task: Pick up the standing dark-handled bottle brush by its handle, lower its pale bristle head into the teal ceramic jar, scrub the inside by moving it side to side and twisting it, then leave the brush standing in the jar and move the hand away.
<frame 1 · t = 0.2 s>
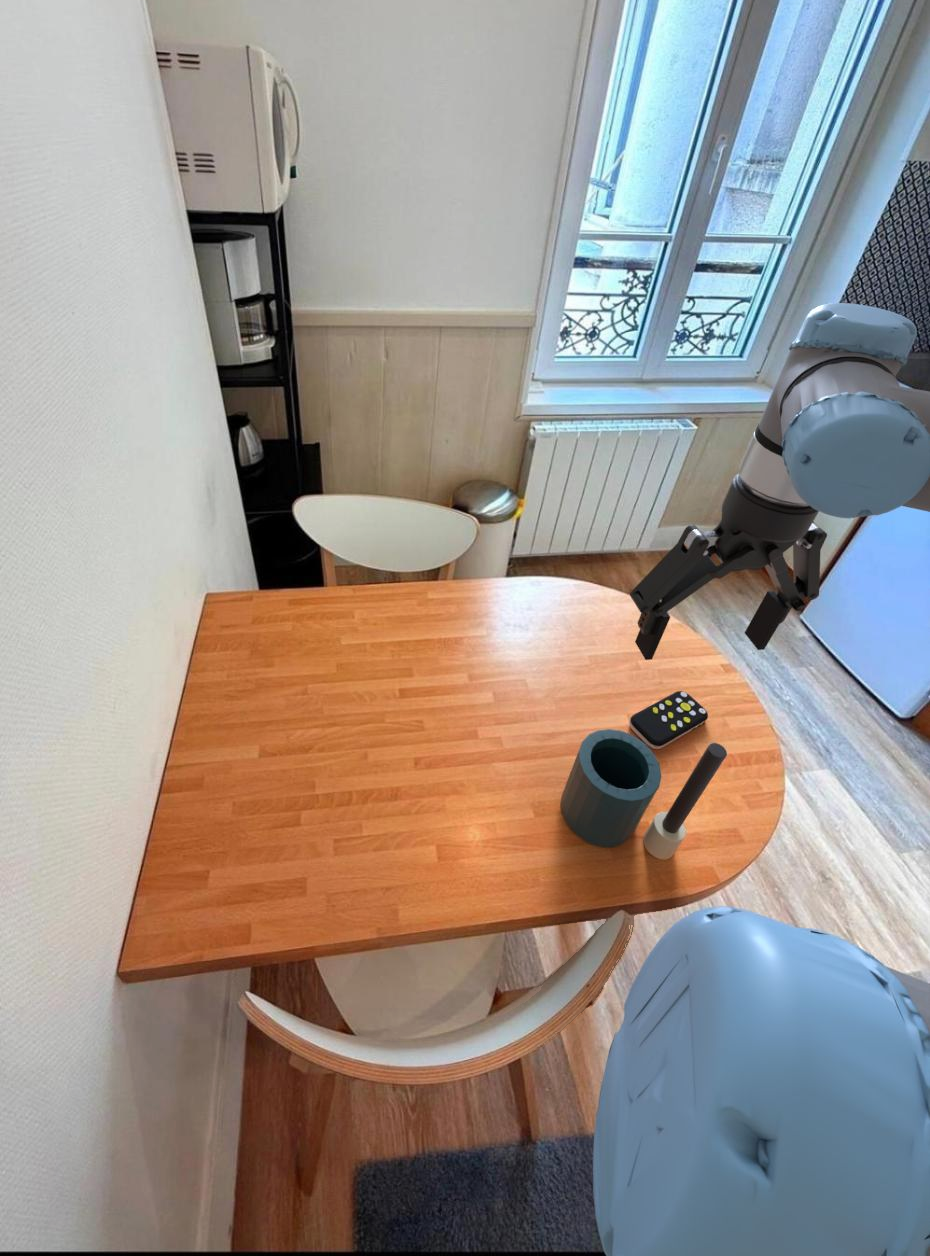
hand: (699, 646, 69), 30 cm above the table, tool pointing down, fingers open, 13 cm apart
remote control: (666, 723, 98), on the table
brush: (658, 844, 82), on the table
jar: (597, 811, 85), on the table
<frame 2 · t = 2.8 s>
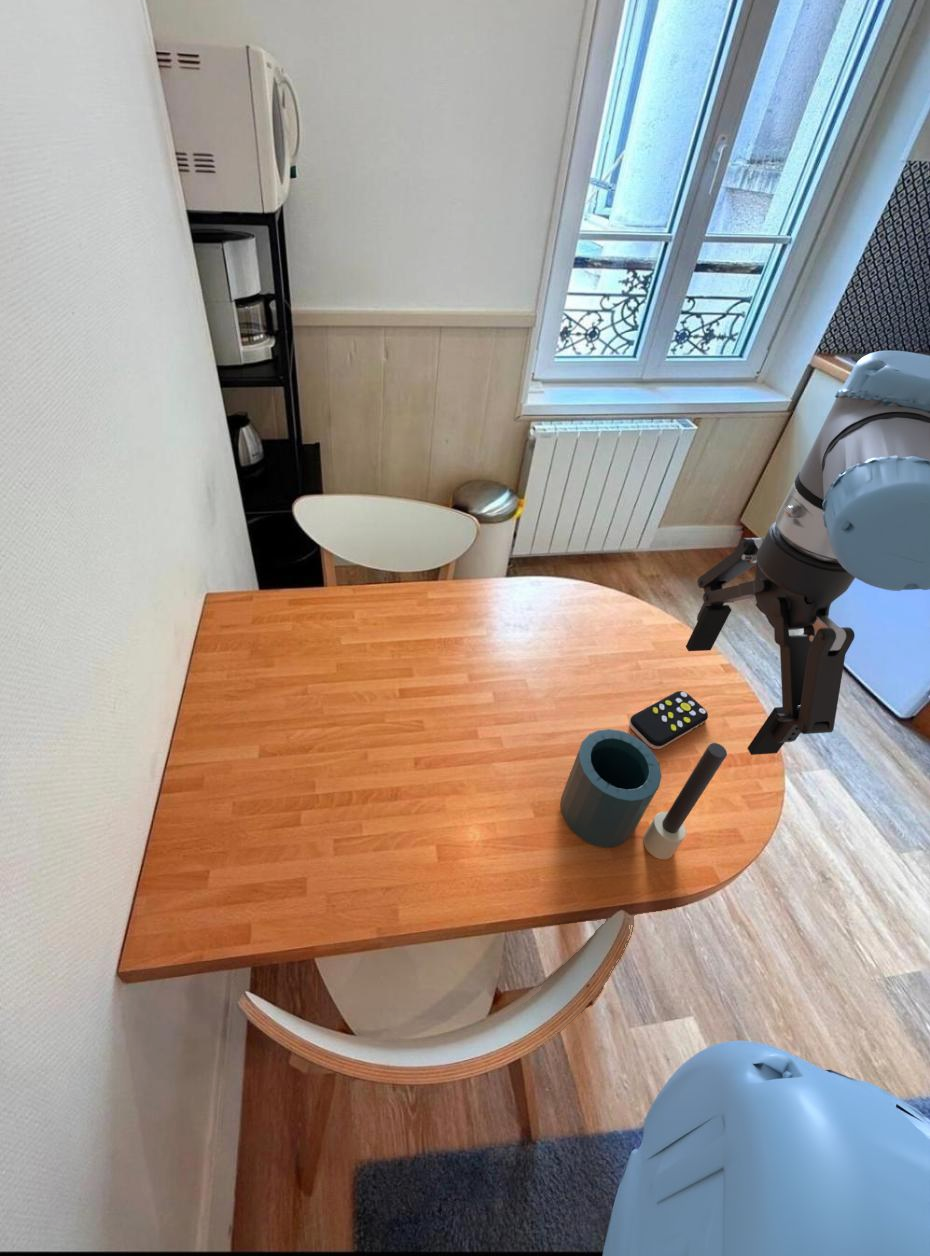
hand: (727, 695, 66), 29 cm above the table, tool pointing down, fingers open, 13 cm apart
nothing on the table moved.
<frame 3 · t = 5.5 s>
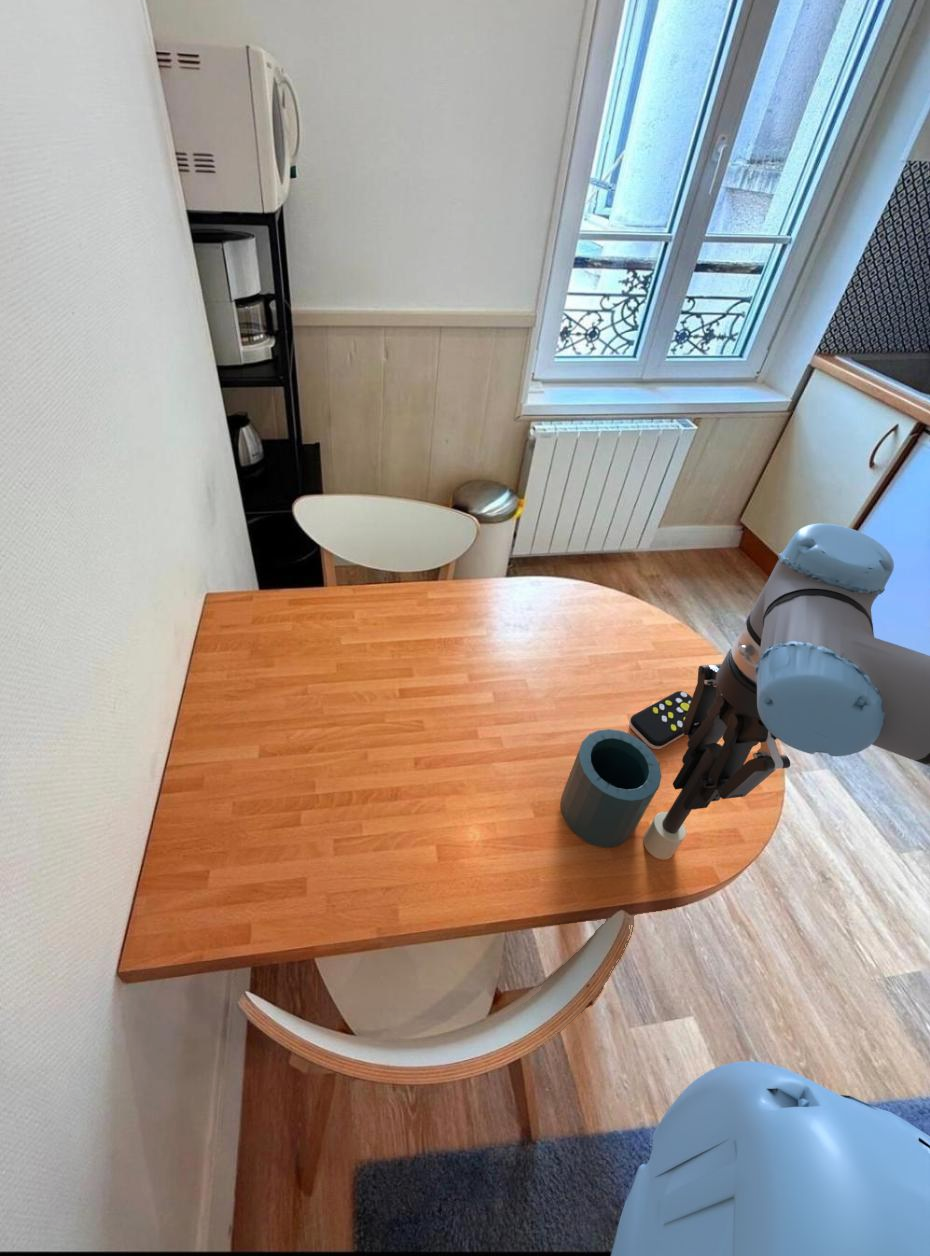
hand: (689, 795, 74), 12 cm above the table, tool pointing down, fingers closed on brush, 2 cm apart
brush: (658, 844, 82), on the table, touching gripper
everything else where it was.
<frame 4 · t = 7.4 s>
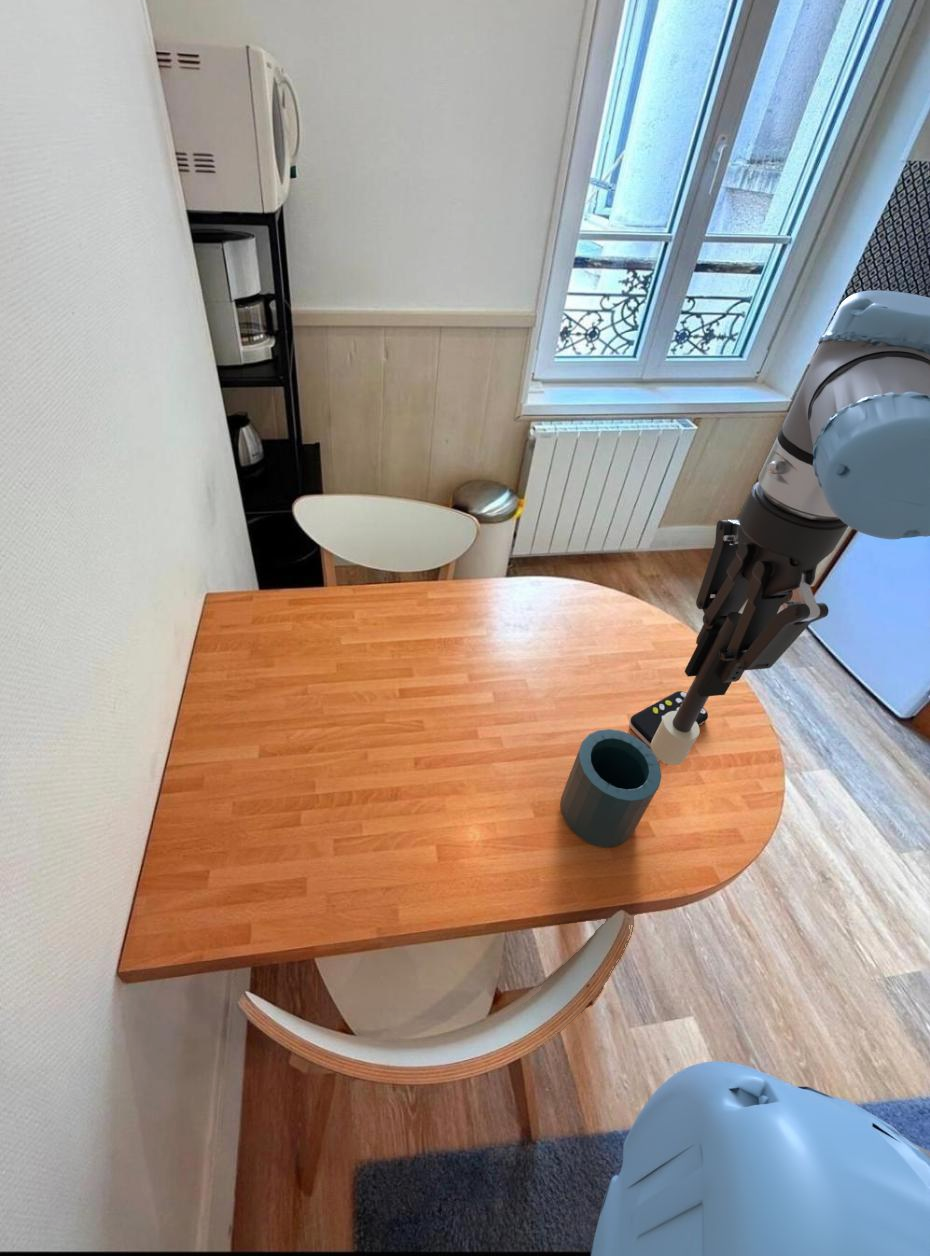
hand: (704, 682, 64), 31 cm above the table, tool pointing down, fingers closed on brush, 2 cm apart
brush: (667, 750, 72), point 18 cm above the table, touching gripper
everything else where it was.
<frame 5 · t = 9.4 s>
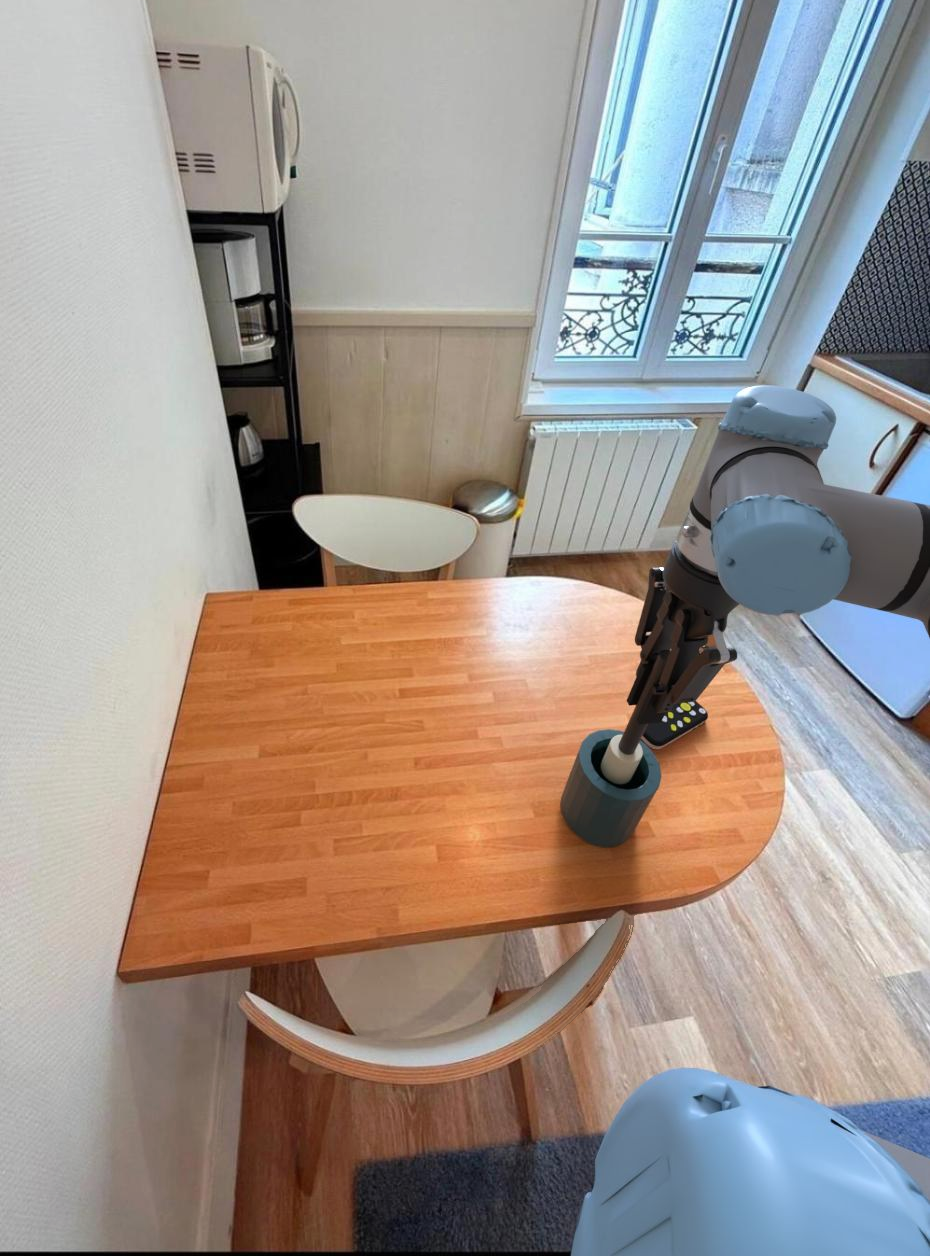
hand: (643, 711, 71), 23 cm above the table, tool pointing down, fingers closed on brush, 2 cm apart
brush: (616, 770, 79), point 10 cm above the table, touching gripper
everything else where it was.
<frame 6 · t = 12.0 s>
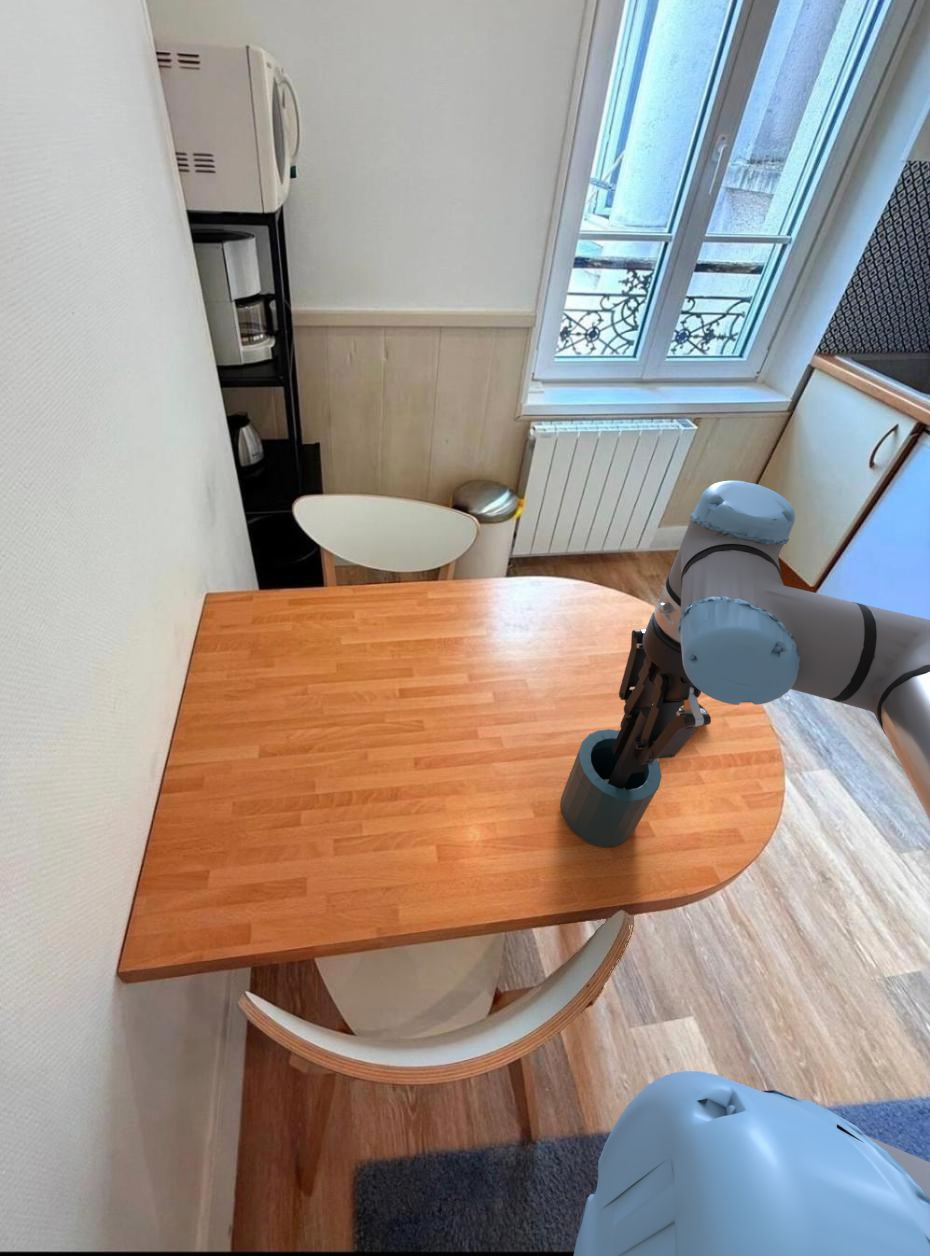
hand: (627, 760, 75), 14 cm above the table, tool pointing down, fingers closed on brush, 2 cm apart
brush: (603, 812, 83), point 2 cm above the table, touching gripper
everything else where it was.
when the fingers open (13 cm above the table, at t = 13.6 s): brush stays where it is, resting on jar.
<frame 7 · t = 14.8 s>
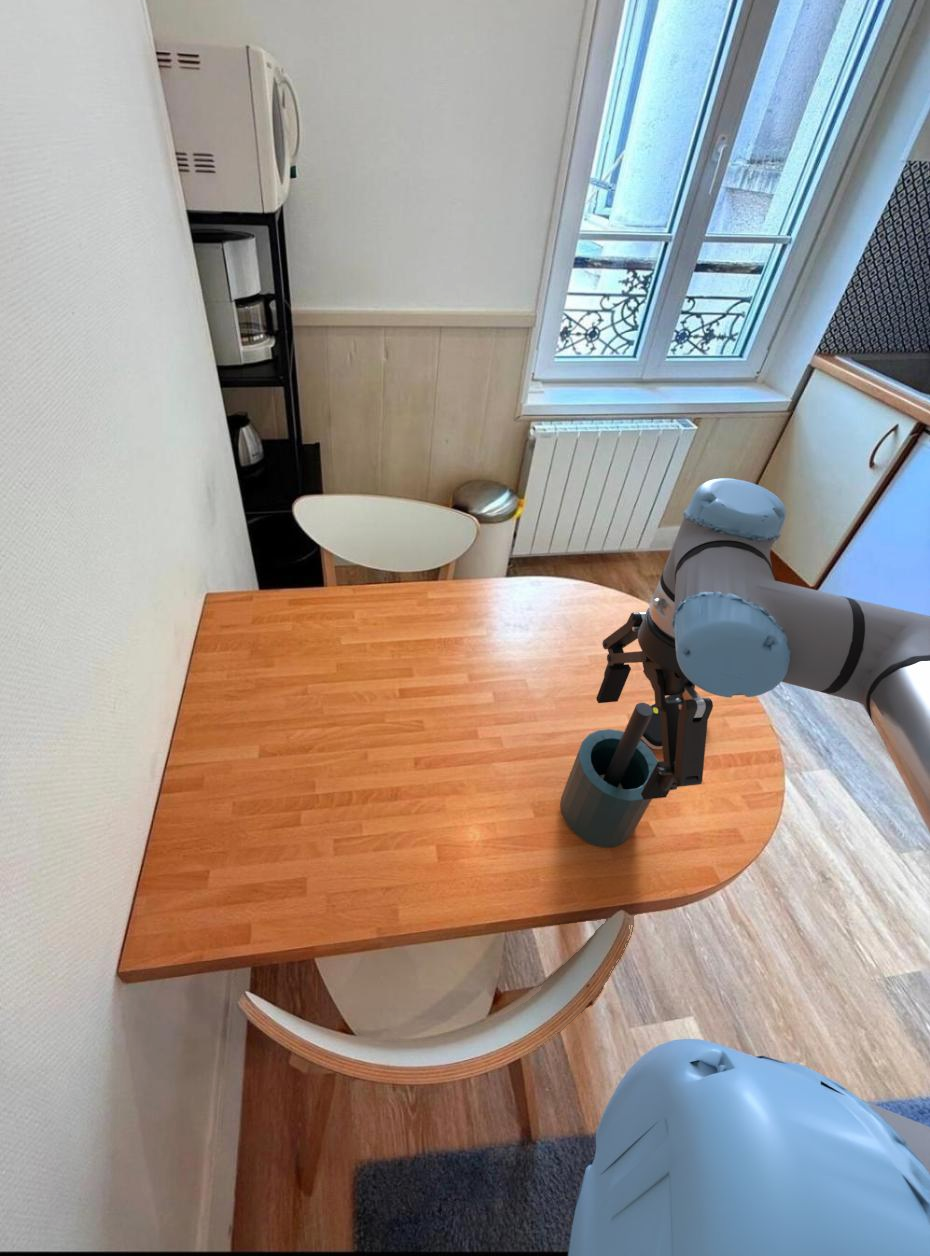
hand: (628, 744, 75), 16 cm above the table, tool pointing down, fingers open, 13 cm apart
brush: (599, 807, 85), point 1 cm above the table, touching jar
everything else where it was.
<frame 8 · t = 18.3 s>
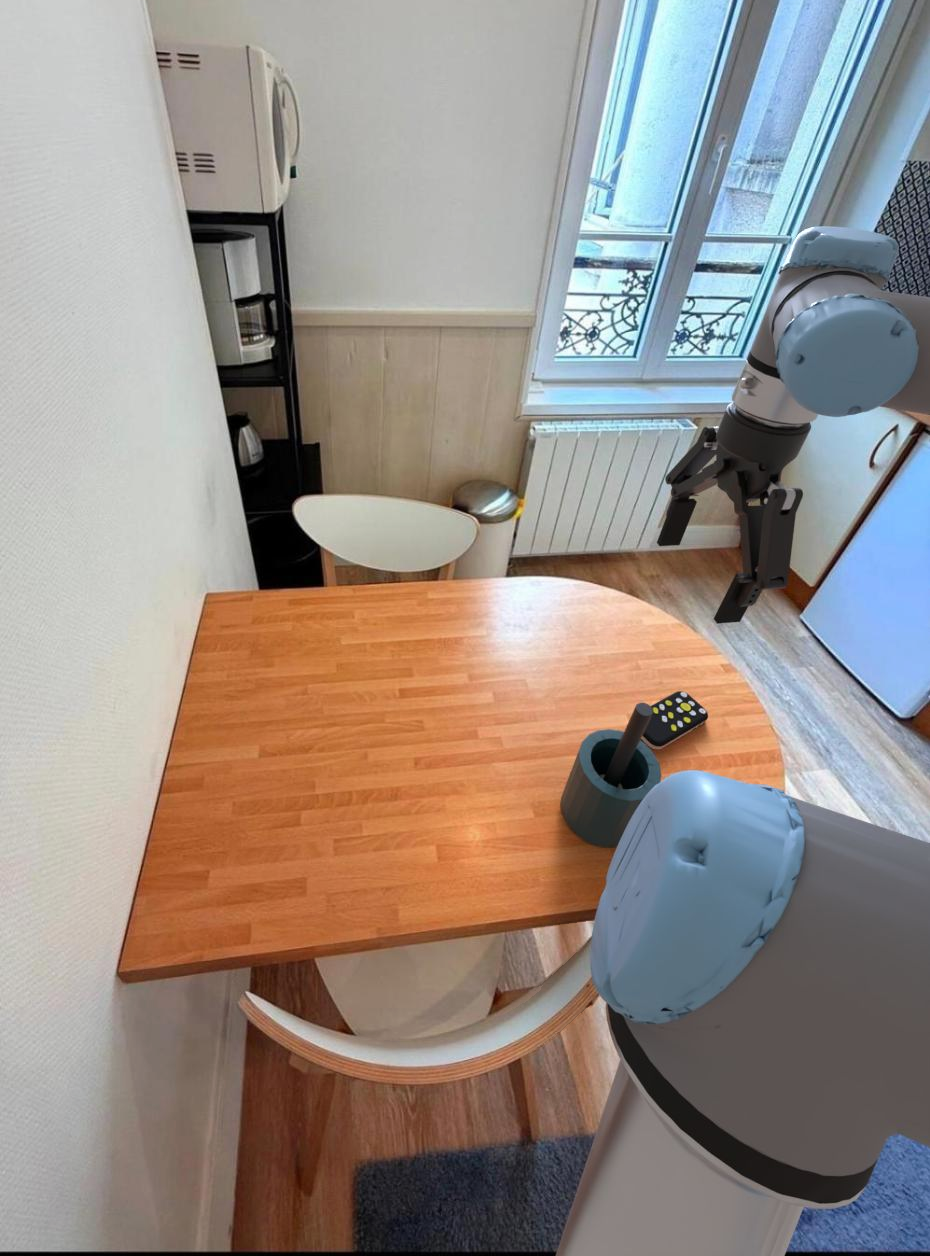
hand: (695, 579, 71), 35 cm above the table, tool pointing down, fingers open, 13 cm apart
nothing on the table moved.
at the end: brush inside the target area in the jar (0.1 cm from its centre), point 1.0 cm above the jar's base; the gripper is holding nothing; remote control moved 0.2 cm from its start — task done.
